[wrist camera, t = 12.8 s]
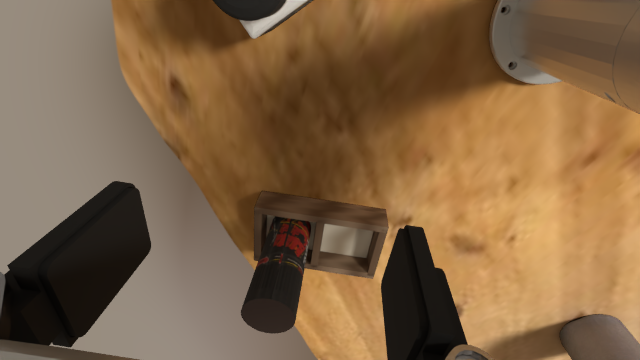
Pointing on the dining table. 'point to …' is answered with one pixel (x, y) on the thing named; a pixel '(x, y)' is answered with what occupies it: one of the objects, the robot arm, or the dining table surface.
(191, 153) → the dining table surface
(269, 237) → the deodorant
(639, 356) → the pillar candle
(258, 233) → the divided compartment tray
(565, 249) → the dining table surface
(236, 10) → the medicine bottle
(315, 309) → the dining table surface
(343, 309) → the dining table surface
